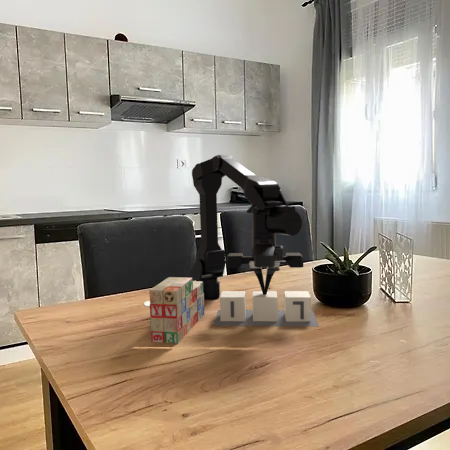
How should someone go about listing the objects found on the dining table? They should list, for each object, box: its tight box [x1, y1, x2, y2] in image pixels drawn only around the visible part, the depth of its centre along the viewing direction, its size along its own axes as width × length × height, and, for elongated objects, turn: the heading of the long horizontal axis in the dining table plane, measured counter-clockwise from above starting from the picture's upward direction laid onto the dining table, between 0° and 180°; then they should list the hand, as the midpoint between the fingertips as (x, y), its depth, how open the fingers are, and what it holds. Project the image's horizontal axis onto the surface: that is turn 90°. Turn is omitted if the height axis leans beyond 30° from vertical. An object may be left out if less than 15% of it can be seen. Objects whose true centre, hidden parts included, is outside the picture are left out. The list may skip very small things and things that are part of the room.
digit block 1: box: [219, 290, 247, 321], centre depth 113 cm, size 6×6×6 cm
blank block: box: [252, 290, 279, 321], centre depth 113 cm, size 6×6×6 cm
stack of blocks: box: [149, 276, 205, 344], centre depth 106 cm, size 21×6×12 cm, turn 167°
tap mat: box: [212, 309, 319, 327], centre depth 113 cm, size 25×13×1 cm, turn 85°
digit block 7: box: [283, 290, 312, 322], centre depth 112 cm, size 6×6×6 cm
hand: (264, 294), depth 112 cm, fingers closed, pressing on blank block
